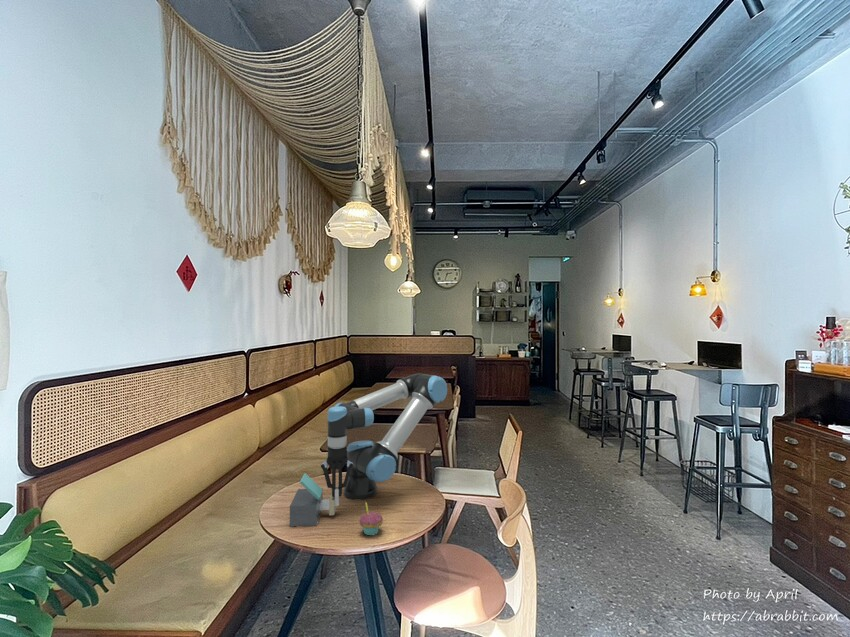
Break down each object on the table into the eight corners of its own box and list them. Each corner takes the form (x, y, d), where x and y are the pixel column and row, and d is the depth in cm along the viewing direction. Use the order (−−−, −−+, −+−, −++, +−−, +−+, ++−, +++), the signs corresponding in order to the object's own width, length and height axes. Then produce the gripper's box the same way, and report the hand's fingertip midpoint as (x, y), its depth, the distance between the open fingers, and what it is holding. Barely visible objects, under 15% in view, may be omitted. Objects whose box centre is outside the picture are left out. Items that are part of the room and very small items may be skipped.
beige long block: (336, 508, 175) (336, 493, 175) (334, 515, 169) (334, 500, 169) (299, 509, 174) (299, 495, 174) (296, 516, 168) (296, 501, 168)
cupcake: (361, 540, 153) (361, 506, 153) (358, 528, 161) (357, 497, 161) (384, 536, 156) (384, 503, 155) (380, 525, 164) (380, 494, 164)
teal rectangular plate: (321, 491, 175) (322, 489, 175) (318, 500, 167) (319, 498, 167) (303, 474, 175) (305, 473, 175) (299, 482, 167) (301, 480, 167)
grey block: (322, 507, 179) (322, 488, 179) (316, 525, 163) (316, 505, 163) (298, 508, 178) (298, 488, 178) (289, 527, 163) (289, 506, 162)
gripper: (354, 442, 176) (354, 499, 176) (321, 443, 175) (321, 501, 175) (352, 448, 169) (352, 507, 169) (319, 449, 167) (319, 509, 168)
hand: (337, 504), depth 172 cm, fingers closed
